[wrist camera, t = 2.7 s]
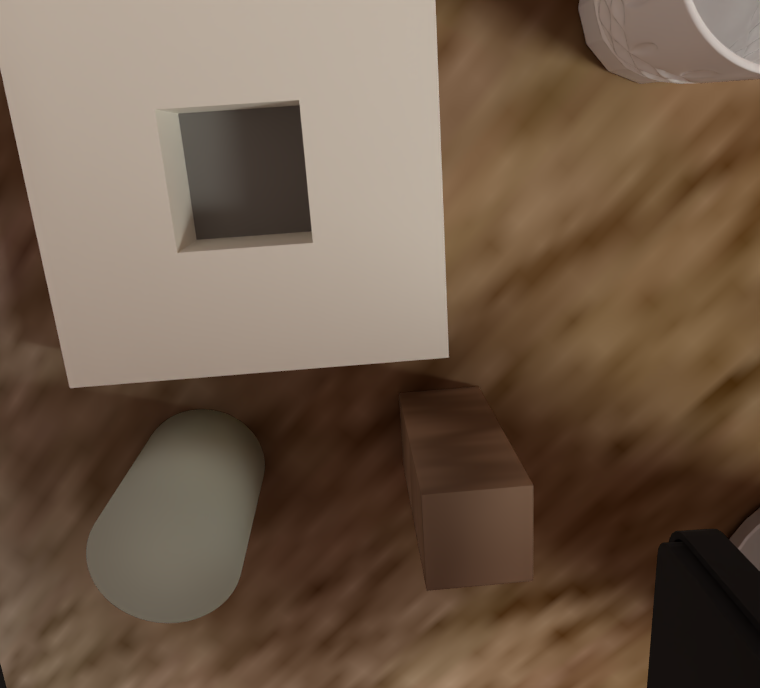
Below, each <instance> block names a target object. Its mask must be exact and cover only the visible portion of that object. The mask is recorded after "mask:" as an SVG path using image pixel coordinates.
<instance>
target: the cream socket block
mask: <svg viewBox="0 0 760 688" xmlns="http://www.w3.org/2000/svg"><path fill="white" fill-rule="evenodd" d="M0 70H1V75H2V79H3V84H4V88H5V93H6V98H7V102H8V107H9V111H10V116H11V121H12V125H13V130H14V134H15V139H16V144H17V148H18V153H19V157H20V162H21V167H22V171H23V176H24V180H25V185H26V190H27V194H28V199H29V203H30V208H31V213H32V217H33V222H34V226H35V231H36V236H37V240H38V245H39V249H40V254H41V259H42V263H43V268H44V272H45V277H46V282H47V286H48V291H49V295H50V300H51V305H52V309H53V314H54V318H55V323H56V328H57V332H58V337H59V341H60V346H61V351H62V355H63V360H64V364H65V369H66V374H67V378H68V383H69V387H70V388H78V387H90V386H102V385H115V384H127V383H140V382H152V381H164V380H177V379H189V378H202V377H214V376H226V375H239V374H251V373H264V372H276V371H288V370H301V369H313V368H326V367H338V366H350V365H363V364H375V363H388V362H400V361H413V360H425V359H437V358H449V348H448V321H447V295H446V269H445V242H444V216H443V190H442V163H441V137H440V110H439V84H438V58H437V31H436V5H435V0H0Z"/></svg>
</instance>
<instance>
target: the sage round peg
mask: <svg viewBox="0 0 760 688" xmlns="http://www.w3.org/2000/svg"><path fill="white" fill-rule="evenodd" d="M264 472H265V459H264V454H263V450H262V448H261V445H260V443H259V441H258V439H257V438H256V436H255V435H254V433H253V432H252V431H251V430H250V429H249V428H248V427H247V426H246V425H245V424H243V423H242V422H241V421H239V420H238V419H236V418H234V417H232V416H230V415H228V414H226V413H223V412H219V411H215V410H208V409H195V410H188V411H185V412H181V413H179V414H176V415H174V416H172V417H170V418H169V419H167V420H166V421H164V422H163V423H162V424H161V425H160V426H159V427H158V428H157V429H156V430H155V431H154V433H153V434H152V435H151V437H150V438H149V440H148V442H147V443H146V445H145V446H144V448H143V449H142V451H141V452H140V454H139V456H138V457H137V459H136V460H135V462H134V463H133V465H132V466H131V468H130V469H129V471H128V473H127V474H126V476H125V477H124V479H123V480H122V482H121V483H120V485H119V486H118V488H117V490H116V491H115V493H114V494H113V496H112V497H111V499H110V500H109V502H108V504H107V505H106V507H105V508H104V510H103V511H102V513H101V514H100V516H99V517H98V519H97V521H96V522H95V524H94V526H93V528H92V529H91V531H90V534H89V537H88V541H87V547H86V560H87V566H88V569H89V573H90V575H91V578H92V580H93V582H94V584H95V585H96V587H97V588H98V590H99V591H100V592H101V593H102V594H103V596H104V597H105V598H106V599H107V600H108V601H110V602H111V603H112V604H113V605H114V606H116V607H117V608H119V609H120V610H122V611H124V612H126V613H127V614H129V615H132V616H134V617H137V618H140V619H143V620H146V621H151V622H157V623H179V622H186V621H190V620H194V619H197V618H200V617H202V616H205V615H207V614H208V613H210V612H212V611H214V610H215V609H217V608H218V607H219V606H221V605H222V604H223V603H224V602H225V601H226V600H227V599H228V598H229V596H230V595H231V594H232V593H233V591H234V589H235V588H236V586H237V584H238V581H239V579H240V576H241V571H242V567H243V563H244V559H245V554H246V550H247V546H248V541H249V537H250V533H251V528H252V524H253V520H254V516H255V511H256V507H257V503H258V498H259V494H260V490H261V485H262V481H263V477H264Z"/></svg>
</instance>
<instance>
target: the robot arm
mask: <svg viewBox="0 0 760 688" xmlns="http://www.w3.org/2000/svg"><path fill="white" fill-rule="evenodd" d="M0 688H6V684H5V680H4V676H3V672H2V669H1V665H0ZM647 688H760V508H759V509H758V510H756V511H755V512H754V513H753V514H752V515H751V516H750V517H748V518H747V519H746V520H745V521H744V522H743V523H742V524H741V526H740V527H739V528H738V529H737V530H736V532H735V533H734V534H733V535H732V536H731V538H730V539H728V538H727V537H726V536H725V535H724V534H723V533H722V532H721V531H719V530H718V529H701V530H686V531H675V532H674V533H672V535H671V537H670V539H669V542H668V543H662V544H660V546H659V548H658V555H657V568H656V580H655V593H654V606H653V618H652V631H651V644H650V657H649V669H648V682H647Z"/></svg>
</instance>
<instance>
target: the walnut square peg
mask: <svg viewBox="0 0 760 688" xmlns="http://www.w3.org/2000/svg"><path fill="white" fill-rule="evenodd" d="M399 407H400V423H401V439H402V455H403V467H404V472H405V478H406V483H407V488H408V494H409V499H410V504H411V510H412V515H413V520H414V526H415V531H416V536H417V541H418V547H419V552H420V557H421V563H422V568H423V573H424V579H425V584H426V589H427V591H428V590H439V589H450V588H461V587H472V586H482V585H493V584H504V583H515V582H526V581H533V484H532V482H531V480H530V478H529V476H528V475H527V473H526V471H525V469H524V467H523V466H522V464H521V462H520V460H519V458H518V457H517V455H516V453H515V451H514V449H513V448H512V446H511V444H510V442H509V440H508V439H507V437H506V435H505V433H504V431H503V430H502V428H501V426H500V424H499V422H498V421H497V419H496V417H495V415H494V413H493V412H492V410H491V408H490V406H489V404H488V403H487V401H486V399H485V397H484V395H483V394H482V392H481V390H480V388H479V386H476V387H464V388H452V389H440V390H427V391H415V392H403V393H399Z"/></svg>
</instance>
